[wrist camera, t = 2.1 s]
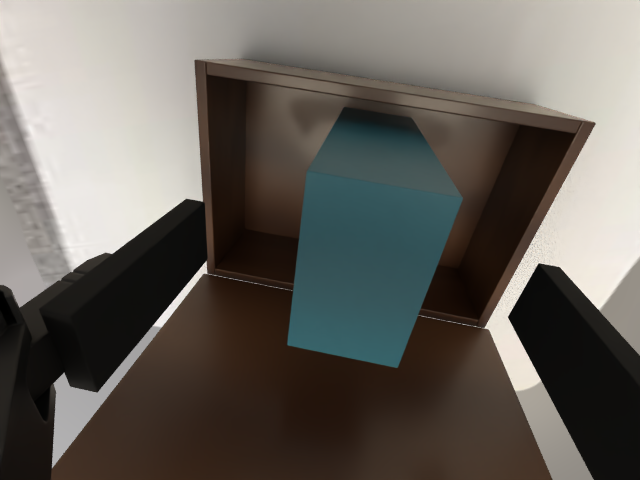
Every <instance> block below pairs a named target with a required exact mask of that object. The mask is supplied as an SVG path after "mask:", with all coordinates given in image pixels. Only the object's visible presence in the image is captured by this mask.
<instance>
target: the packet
mask: <svg viewBox="0 0 640 480" xmlns="http://www.w3.org/2000/svg"><path fill="white" fill-rule="evenodd" d="M462 200H463V197H462V196H461V194H460V193H459V191H458V190H457V188H456V186H455V185H454V183H453V182H452V180H451V179H450V177H449V175H448V174H447V172H446V171H445V169H444V167H443V166H442V164H441V163H440V161H439V160H438V158H437V156H436V155H435V153H434V152H433V150H432V149H431V147H430V145H429V144H428V142H427V141H426V139H425V138H424V136H423V134H422V133H421V131H420V130H419V128H418V127H417V125H416V123H415V122H414V120H413V119H412V118H410V117H404V116H397V115H391V114H385V113H379V112H373V111H366V110H360V109H354V108H348V107H344V108H343V109H342V111H341V113H340V115H339V116H338V118H337V120H336V122H335V123H334V125H333V127H332V129H331V130H330V132H329V134H328V136H327V137H326V139H325V141H324V142H323V144H322V146H321V148H320V149H319V151H318V153H317V155H316V156H315V158H314V160H313V162H312V163H311V165H310V167H309V169H308V170H307V172H306V181H305V190H304V199H303V208H302V216H301V225H300V234H299V243H298V252H297V261H296V270H295V279H294V288H293V296H292V305H291V314H290V323H289V332H288V341H287V345H289V346H294V347H298V348H303V349H308V350H313V351H318V352H323V353H327V354H332V355H337V356H342V357H347V358H352V359H356V360H361V361H366V362H371V363H376V364H381V365H385V366H390V367H395V368H398V366H399V363H400V361H401V358H402V355H403V353H404V350H405V348H406V345H407V342H408V340H409V337H410V335H411V332H412V330H413V327H414V324H415V322H416V319H417V317H418V314H419V311H420V309H421V306H422V304H423V301H424V298H425V296H426V293H427V291H428V288H429V286H430V283H431V280H432V278H433V275H434V273H435V270H436V267H437V265H438V262H439V260H440V257H441V255H442V252H443V249H444V247H445V244H446V242H447V239H448V236H449V234H450V231H451V229H452V226H453V223H454V221H455V218H456V216H457V213H458V211H459V208H460V205H461V203H462Z"/></svg>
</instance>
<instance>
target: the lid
mask: <svg viewBox="0 0 640 480" xmlns="http://www.w3.org/2000/svg"><path fill="white" fill-rule="evenodd" d="M292 296H293V291H290V290H285V289H280V288H275V287H270V286H265V285H260V284H255V283H250V282H245V281H239V280H234V279H229V278H224V277H219V276H214V275H209V274H203V275H202V277H201V278H200V279H199V281H198V282H197V283H196V284H195V286H194V287H193V288H192V290H191V291H190V292H189V293H188V295H187V296H186V297H185V299H184V300H183V301H182V302H181V304H180V305H179V306H178V308H177V309H176V310H175V311H174V313H173V314H172V315H171V317H170V318H169V319H168V320H167V322H166V323H165V324H164V326H163V327H162V328H161V329H160V331H159V332H158V333H157V334H156V336H155V337H154V338H153V340H152V341H151V342H150V344H149V345H148V346H147V347H146V349H145V350H144V351H143V352H142V354H141V355H140V356H139V358H138V359H137V360H136V361H135V363H134V364H133V365H132V367H131V368H130V369H129V370H128V372H127V373H126V374H125V376H124V377H123V378H122V380H121V381H120V382H119V383H118V385H117V386H116V387H115V388H114V390H113V391H112V392H111V394H110V395H109V396H108V397H107V399H106V400H105V401H104V403H103V404H102V405H101V406H100V408H99V409H98V410H97V412H96V413H95V414H94V415H93V417H92V418H91V420H90V421H89V422H88V423H87V424H86V426H85V427H84V428H83V430H82V431H81V432H80V433H79V435H78V436H77V437H76V439H75V440H74V441H73V442H72V444H71V445H70V446H69V448H68V449H67V450H66V451H65V453H64V454H63V455H62V456H61V458H60V459H59V460H58V462H57V463H56V465H55V466H54V467H53V468H52V472H51V480H552V478H551V475H550V473H549V470H548V468H547V466H546V463H545V461H544V459H543V456H542V454H541V452H540V449H539V447H538V445H537V442H536V440H535V438H534V435H533V433H532V430H531V428H530V426H529V423H528V421H527V419H526V416H525V414H524V412H523V409H522V407H521V405H520V402H519V400H518V397H517V395H516V393H515V390H514V388H513V386H512V383H511V381H510V378H509V376H508V374H507V371H506V369H505V367H504V364H503V362H502V360H501V357H500V355H499V352H498V350H497V348H496V345H495V343H494V341H493V338H492V336H491V334H490V331H489V330H488V329H484V328H478V327H473V326H468V325H463V324H458V323H453V322H448V321H443V320H438V319H433V318H428V317H423V316H418V317H417V319H416V322H415V324H414V327H413V330H412V332H411V335H410V337H409V340H408V342H407V345H406V348H405V350H404V353H403V355H402V358H401V361H400V363H399V366H398V368H395V367H390V366H385V365H381V364H376V363H371V362H366V361H361V360H356V359H352V358H347V357H342V356H337V355H332V354H327V353H323V352H318V351H313V350H308V349H303V348H298V347H294V346H289V345H287V341H288V332H289V323H290V314H291V305H292Z"/></svg>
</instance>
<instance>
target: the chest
mask: <svg viewBox="0 0 640 480" xmlns="http://www.w3.org/2000/svg"><path fill="white" fill-rule="evenodd" d="M195 75H196V91H197V108H198V124H199V141H200V158H201V174H202V191H203V202H205V216H206V235H207V254H208V259H207V273H208V274H212V275H216V276H222V277H227V278H232V279H237V280H242V281H247V282H252V283H257V284H262V285H267V286H272V287H278V288H283V289H288V290H293V288H294V279H295V270H296V261H297V252H298V243H299V234H300V225H301V216H302V208H303V199H304V190H305V181H306V172H307V170H308V169H309V167H310V165H311V163H312V162H313V160H314V158H315V156H316V155H317V153H318V151H319V149H320V148H321V146H322V144H323V142H324V141H325V139H326V137H327V136H328V134H329V132H330V130H331V129H332V127H333V125H334V123H335V122H336V120H337V118H338V116H339V115H340V113H341V111H342V109H343V108H344V107H348V108H354V109H360V110H366V111H373V112H379V113H385V114H391V115H397V116H404V117H410V118H412V119H413V120H414V122H415V123H416V125H417V127H418V128H419V130H420V131H421V133H422V134H423V136H424V138H425V139H426V141H427V142H428V144H429V145H430V147H431V149H432V150H433V152H434V153H435V155H436V156H437V158H438V160H439V161H440V163H441V164H442V166H443V167H444V169H445V171H446V172H447V174H448V175H449V177H450V179H451V180H452V182H453V183H454V185H455V186H456V188H457V190H458V191H459V193H460V194H461V196H462V197H463V200H462V203H461V205H460V208H459V211H458V213H457V216H456V218H455V221H454V223H453V226H452V229H451V231H450V234H449V236H448V239H447V242H446V244H445V247H444V249H443V252H442V255H441V257H440V260H439V262H438V265H437V267H436V270H435V273H434V275H433V278H432V280H431V283H430V286H429V288H428V291H427V293H426V296H425V298H424V301H423V304H422V306H421V309H420V311H419V314H418V315H420V316H425V317H430V318H435V319H440V320H445V321H451V322H456V323H461V324H466V325H471V326H476V327H481V328H485V326H486V324H487V322H488V320H489V319H490V317H491V315H492V313H493V311H494V309H495V308H496V306H497V304H498V302H499V300H500V298H501V297H502V295H503V293H504V291H505V289H506V287H507V286H508V284H509V282H510V280H511V278H512V276H513V274H514V273H515V271H516V269H517V267H518V265H519V263H520V262H521V260H522V258H523V256H524V254H525V252H526V251H527V249H528V247H529V245H530V243H531V241H532V240H533V238H534V236H535V234H536V232H537V230H538V229H539V227H540V225H541V223H542V221H543V219H544V218H545V216H546V214H547V212H548V210H549V208H550V207H551V205H552V203H553V201H554V199H555V197H556V195H557V194H558V192H559V190H560V188H561V186H562V184H563V183H564V181H565V179H566V177H567V175H568V173H569V172H570V170H571V168H572V166H573V164H574V162H575V161H576V159H577V157H578V155H579V153H580V151H581V150H582V148H583V146H584V144H585V142H586V140H587V139H588V137H589V135H590V133H591V131H592V129H593V127H594V126H595V122H592V121H588V120H585V119H582V118H578V117H575V116H572V115H568V114H565V113H562V112H558V111H555V110H551V109H548V108H545V107H541V106H538V105H535V104H529V103H522V102H516V101H510V100H503V99H497V98H490V97H484V96H477V95H471V94H465V93H458V92H452V91H445V90H439V89H432V88H426V87H420V86H413V85H407V84H400V83H394V82H388V81H381V80H375V79H368V78H362V77H355V76H349V75H343V74H336V73H330V72H323V71H317V70H310V69H304V68H298V67H291V66H285V65H278V64H272V63H266V62H259V61H253V60H246V59H205V60H195Z"/></svg>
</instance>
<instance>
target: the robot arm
mask: <svg viewBox="0 0 640 480" xmlns="http://www.w3.org/2000/svg"><path fill="white" fill-rule="evenodd" d="M207 259H208V254H207V235H206V216H205V202H201V201H196V200H190V199H186V200H184V201H183V202H182V203H180V204H179V205H177V206H176V207H175V208H173V209H172V210H171V211H169V212H168V213H167V214H165V215H164V216H163V217H161V218H160V219H159V220H157V221H156V222H155V223H153V224H152V225H151V226H149V227H148V228H147V229H145V230H144V231H143V232H141V233H140V234H139V235H137V236H136V237H135V238H133V239H132V240H131V241H129V242H128V243H127V244H125V245H124V246H122V247H121V248H120V249H118V250H117V251H116V252H114V253H113V254H109V253H104V254H102V255H99V256H97V257H94V258H92V259H89V260H87V261H86V262H84V263H83V264H81V265H80V266H79V267H77V268H76V269H74V270H73V272H70V273H69V274H67V275H66V276H64V277H63V278H62V280H61V281H57V282H56V283H54V284H53V285H51V286H50V287H49V288H47V289H46V290H44V291H43V292H42V293H40V294H39V295H38V296H36V297H35V298H33V299H32V300H30V301H29V302H27V303H26V304H25V305H23V306H22V307H20V308H19V306H18V304H17V302H16V299H15V297H14V295H13V293H12V290H11V289H9V288H8V287H6V286H4V285H0V480H51V472H52V453H53V435H54V416H55V398H56V391H55V388H54V384H53V383H54V382H55V381H56V380H57V379H58V378H59V377H60V376H61V375H62V374H63V373H64V372H65V375H66V377H67V379H68V382H69V385H70V386H71V387H75V388H79V389H84V390H88V391H93V392H98V391H99V390H100V389H101V387H102V386H103V385H104V384H105V382H106V381H107V380H108V379H109V378H110V376H111V375H112V374H113V373H114V372H115V370H116V369H117V368H118V367H119V366H120V364H121V363H122V362H123V361H124V359H125V358H126V357H127V356H128V355H129V354H130V352H131V351H132V350H133V349H134V347H135V346H136V345H137V344H138V343H139V341H140V340H141V339H142V338H143V337H144V335H145V334H146V333H147V332H148V331H149V329H150V328H151V327H152V326H153V325H154V323H155V322H156V321H157V320H158V319H159V317H160V316H161V315H162V314H163V312H164V311H165V310H166V309H167V308H168V306H169V305H170V304H171V303H172V302H173V300H174V299H175V298H176V297H177V296H178V294H179V293H180V292H181V291H182V290H183V288H184V287H185V286H186V285H187V283H188V282H189V281H190V280H191V279H192V277H193V276H194V275H195V274H196V273H197V271H198V270H199V269H200V268H201V267H202V265H203V264H204V263H205V262H206V261H207ZM508 318H509V320H510V322H511V324H512V326H513V328H514V330H515V331H516V333H517V335H518V337H519V339H520V341H521V343H522V345H523V347H524V349H525V350H526V352H527V354H528V356H529V358H530V360H531V362H532V364H533V366H534V367H535V369H536V371H537V373H538V375H539V377H540V379H541V381H542V383H543V384H544V386H545V388H546V390H547V392H548V394H549V396H550V398H551V400H552V401H553V403H554V405H555V407H556V409H557V411H558V413H559V415H560V417H561V419H562V420H563V422H564V424H565V426H566V428H567V430H568V432H569V434H570V435H571V438H572V439H573V441H574V443H575V445H576V447H577V449H578V451H579V453H580V454H581V456H582V458H583V460H584V462H585V464H586V466H587V468H588V470H589V471H590V473H591V475H592V477H593V479H594V480H640V356H639V354H638V353H637V352H636V351H635V350H634V349H633V348H632V347H631V346H630V345H629V344H628V342H627V341H626V340H625V339H624V338H623V337H622V336H621V335H620V333H619V332H618V331H617V330H616V329H615V328H614V327H613V326H612V325H611V324H610V322H609V321H608V320H607V319H606V318H605V317H604V316H603V315H602V314H601V312H600V311H599V310H598V309H597V308H596V307H595V306H594V305H593V304H592V303H591V301H590V300H589V299H588V298H587V297H586V296H585V295H584V294H583V293H582V291H581V290H580V289H579V288H578V287H577V286H576V285H575V284H574V283H573V282H572V280H571V279H570V278H569V277H568V276H567V275H566V274H565V273H564V272H563V270H562V269H561V268H560V267H556V266H550V265H545V264H538V266H537V267H536V269H535V271H534V273H533V274H532V276H531V278H530V280H529V281H528V283H527V285H526V287H525V288H524V290H523V292H522V294H521V295H520V297H519V299H518V300H517V302H516V304H515V306H514V307H513V309H512V311H511V313H510V314H509V316H508Z"/></svg>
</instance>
